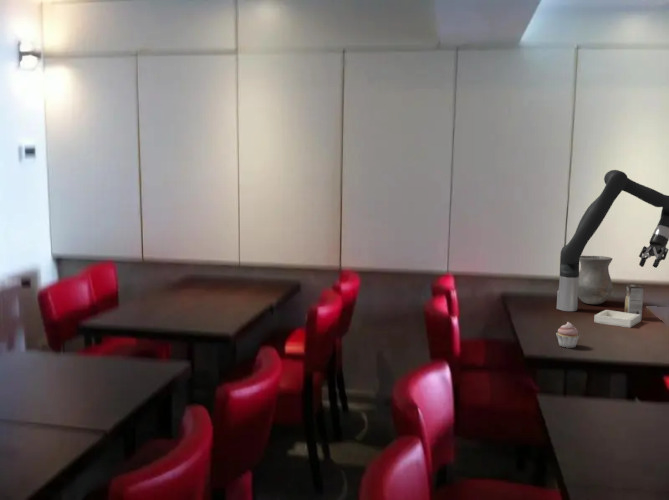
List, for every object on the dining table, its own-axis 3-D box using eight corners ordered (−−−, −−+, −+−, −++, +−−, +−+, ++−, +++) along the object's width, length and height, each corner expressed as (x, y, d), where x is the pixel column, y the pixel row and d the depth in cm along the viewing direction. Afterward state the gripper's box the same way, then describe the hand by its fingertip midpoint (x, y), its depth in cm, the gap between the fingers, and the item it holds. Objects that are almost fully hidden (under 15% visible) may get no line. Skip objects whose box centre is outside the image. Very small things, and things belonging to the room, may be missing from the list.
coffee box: (623, 315, 325) (625, 283, 323) (637, 316, 324) (639, 284, 322) (627, 320, 316) (629, 286, 314) (642, 320, 315) (644, 287, 313)
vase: (565, 301, 360) (567, 255, 357) (591, 298, 368) (593, 254, 365) (593, 308, 342) (595, 260, 339) (620, 305, 350) (623, 258, 347)
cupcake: (560, 341, 275) (561, 318, 274) (582, 345, 269) (584, 321, 268) (551, 346, 268) (552, 322, 266) (574, 350, 262) (575, 325, 261)
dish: (594, 322, 310) (594, 315, 310) (605, 316, 323) (605, 309, 322) (630, 327, 300) (630, 320, 300) (640, 321, 312) (640, 314, 312)
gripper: (644, 233, 328) (631, 262, 326) (666, 233, 314) (653, 263, 312) (654, 240, 330) (642, 269, 328) (677, 240, 317) (664, 270, 315)
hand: (647, 266), depth 320 cm, fingers open, 8 cm apart
